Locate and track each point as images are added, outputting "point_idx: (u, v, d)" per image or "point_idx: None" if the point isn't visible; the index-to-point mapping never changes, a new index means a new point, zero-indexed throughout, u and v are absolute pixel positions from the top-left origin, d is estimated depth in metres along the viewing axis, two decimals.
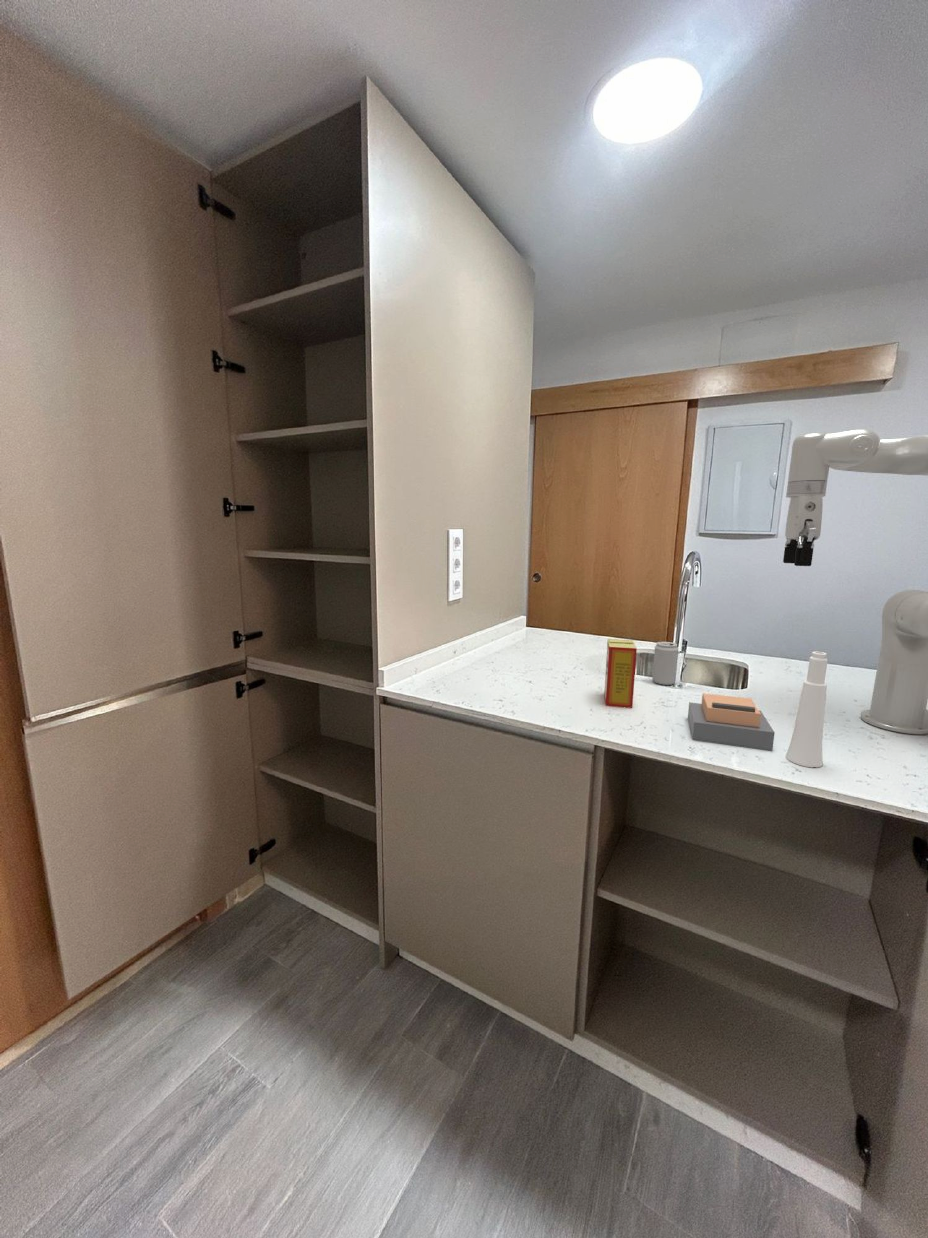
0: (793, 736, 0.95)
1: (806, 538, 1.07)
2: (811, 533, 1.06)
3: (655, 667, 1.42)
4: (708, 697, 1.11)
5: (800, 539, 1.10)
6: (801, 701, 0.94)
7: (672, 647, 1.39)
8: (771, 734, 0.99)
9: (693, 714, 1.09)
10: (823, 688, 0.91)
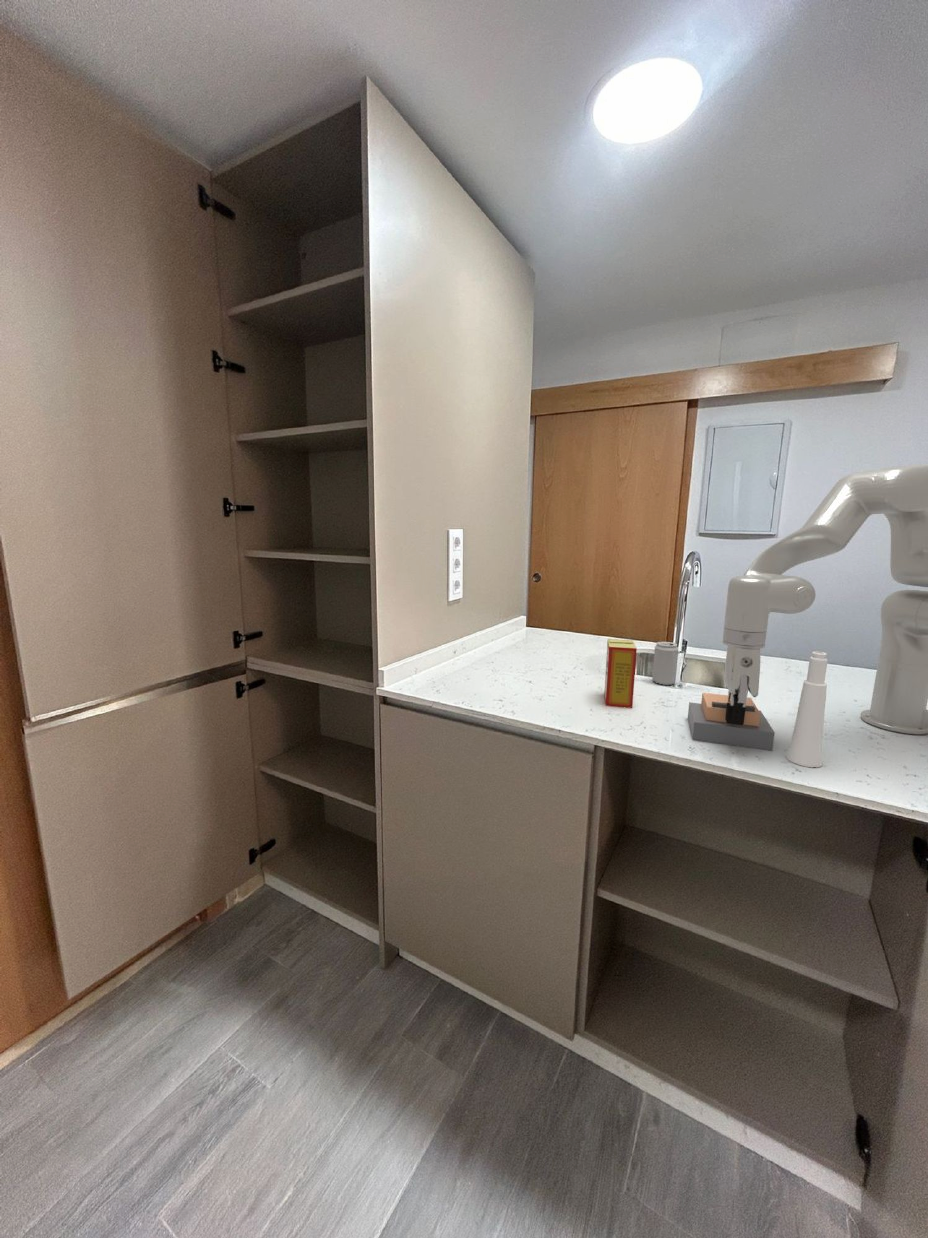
0: (793, 736, 0.95)
1: (736, 699, 0.98)
2: (741, 703, 0.96)
3: (655, 667, 1.42)
4: (707, 696, 1.11)
5: (732, 699, 0.99)
6: (801, 701, 0.94)
7: (672, 647, 1.39)
8: (771, 734, 0.99)
9: (693, 714, 1.09)
10: (823, 688, 0.91)
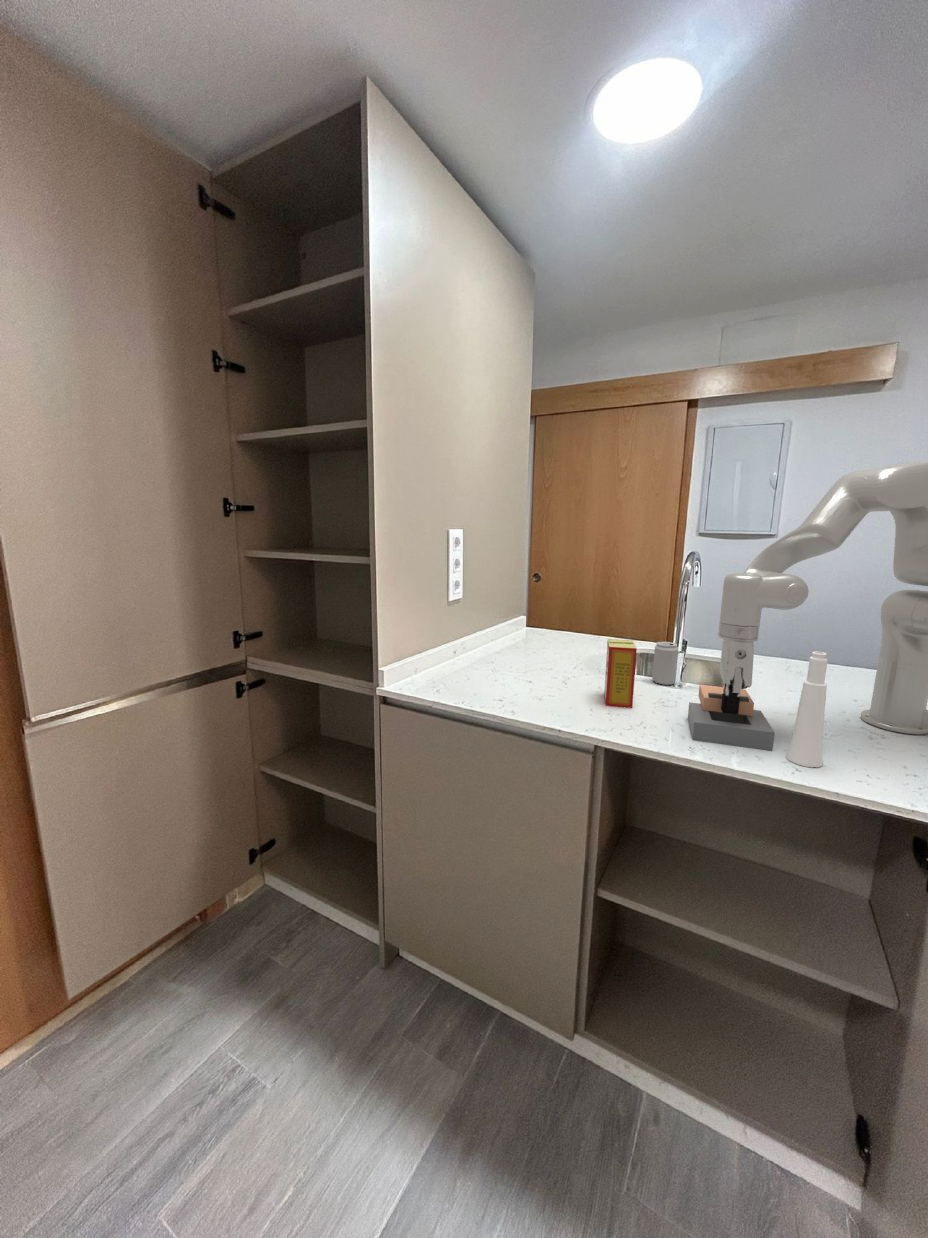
0: (793, 736, 0.95)
1: (731, 689, 1.03)
2: (735, 693, 1.02)
3: (655, 667, 1.42)
4: (704, 688, 1.17)
5: (727, 689, 1.05)
6: (801, 701, 0.94)
7: (672, 647, 1.39)
8: (771, 734, 0.99)
9: (693, 714, 1.09)
10: (823, 688, 0.91)
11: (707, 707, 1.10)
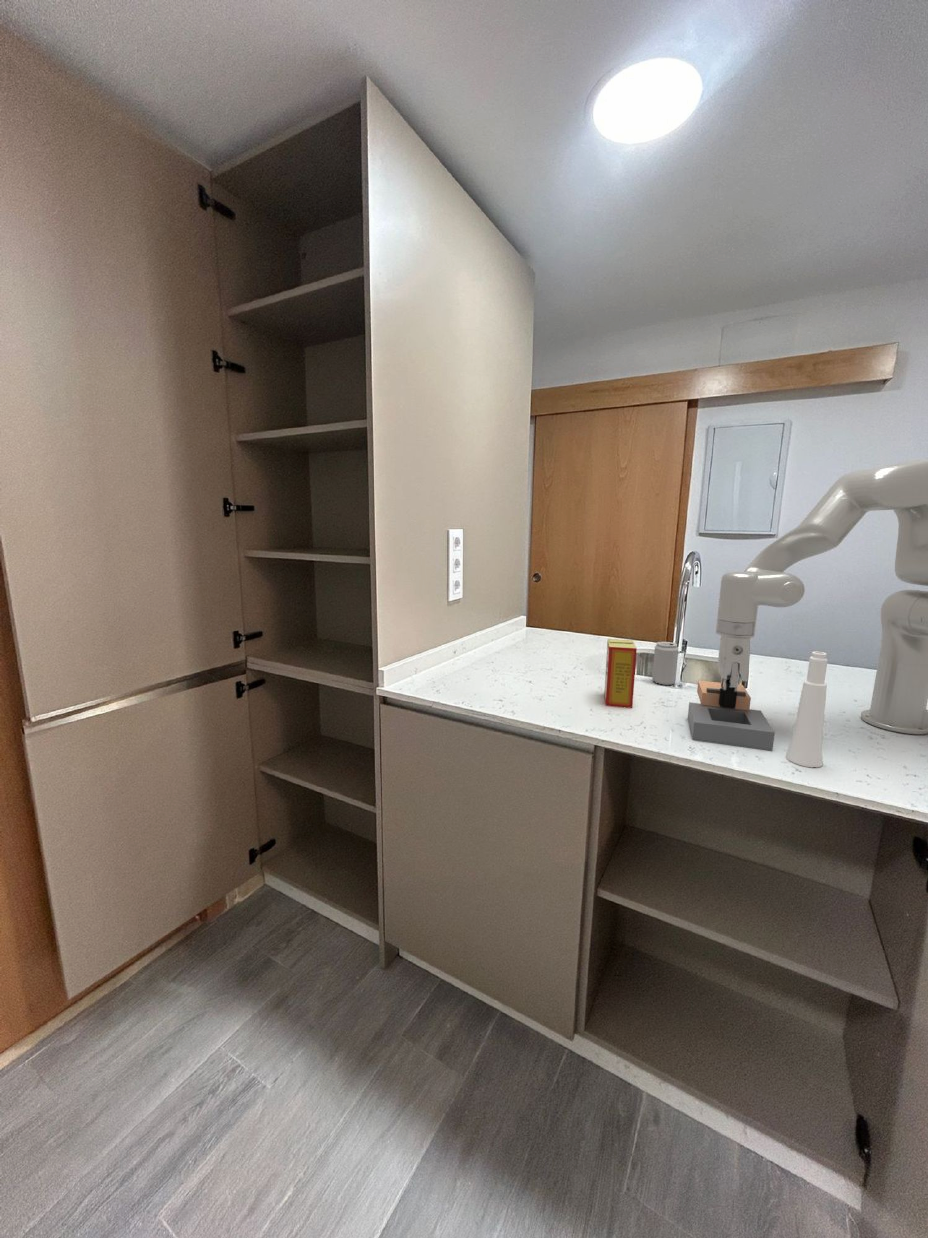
0: (793, 736, 0.95)
1: (728, 684, 1.07)
2: (732, 687, 1.05)
3: (655, 667, 1.42)
4: (703, 683, 1.20)
5: (725, 684, 1.08)
6: (801, 701, 0.94)
7: (672, 647, 1.39)
8: (771, 734, 0.99)
9: (693, 714, 1.09)
10: (823, 688, 0.91)
11: (705, 702, 1.14)
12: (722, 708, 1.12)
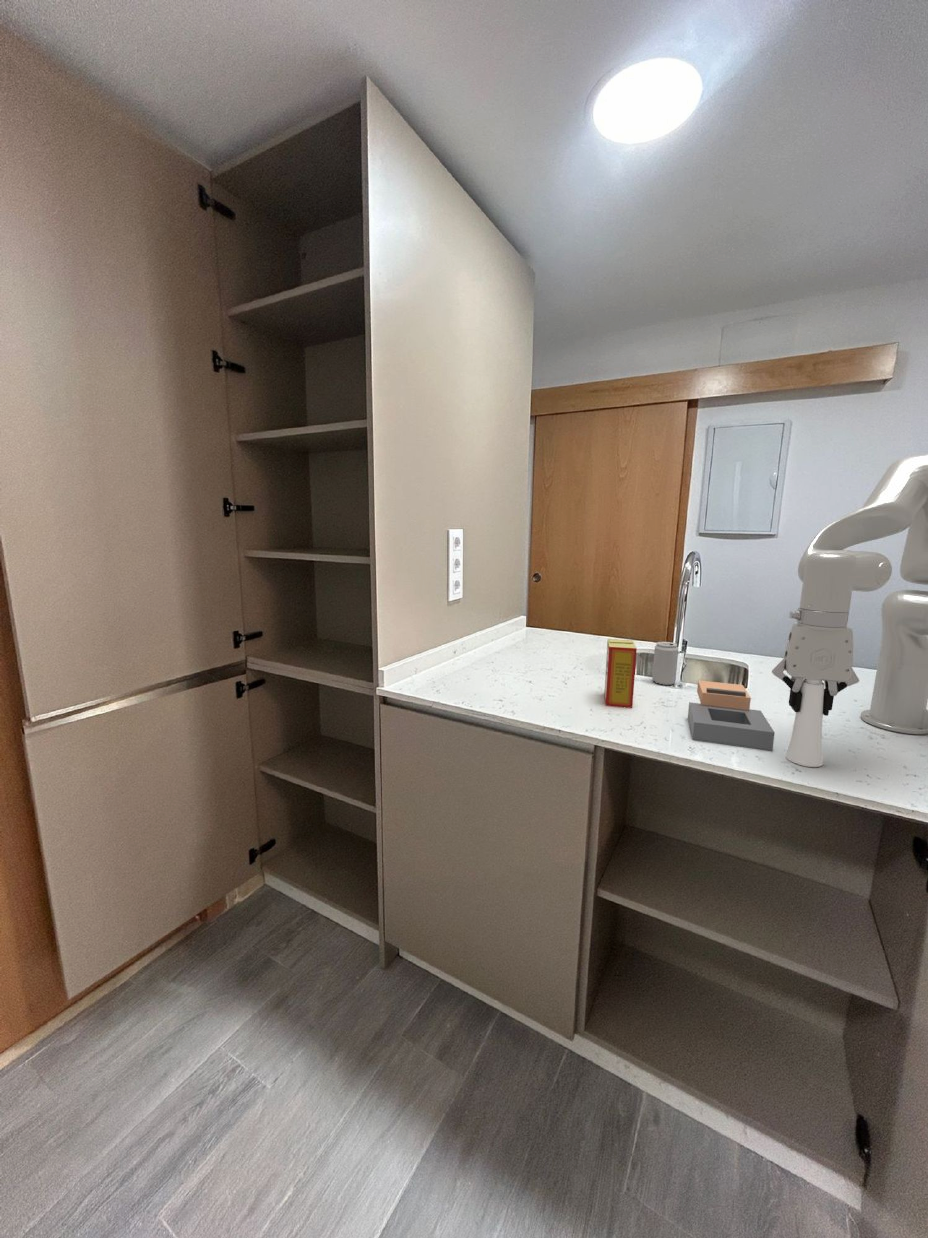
0: (792, 736, 0.95)
1: None
2: (775, 675, 0.95)
3: (655, 667, 1.42)
4: (703, 683, 1.20)
5: (791, 678, 0.95)
6: None
7: (672, 647, 1.39)
8: (771, 734, 0.99)
9: (693, 714, 1.09)
10: (821, 687, 0.91)
11: (705, 702, 1.14)
12: (722, 708, 1.12)
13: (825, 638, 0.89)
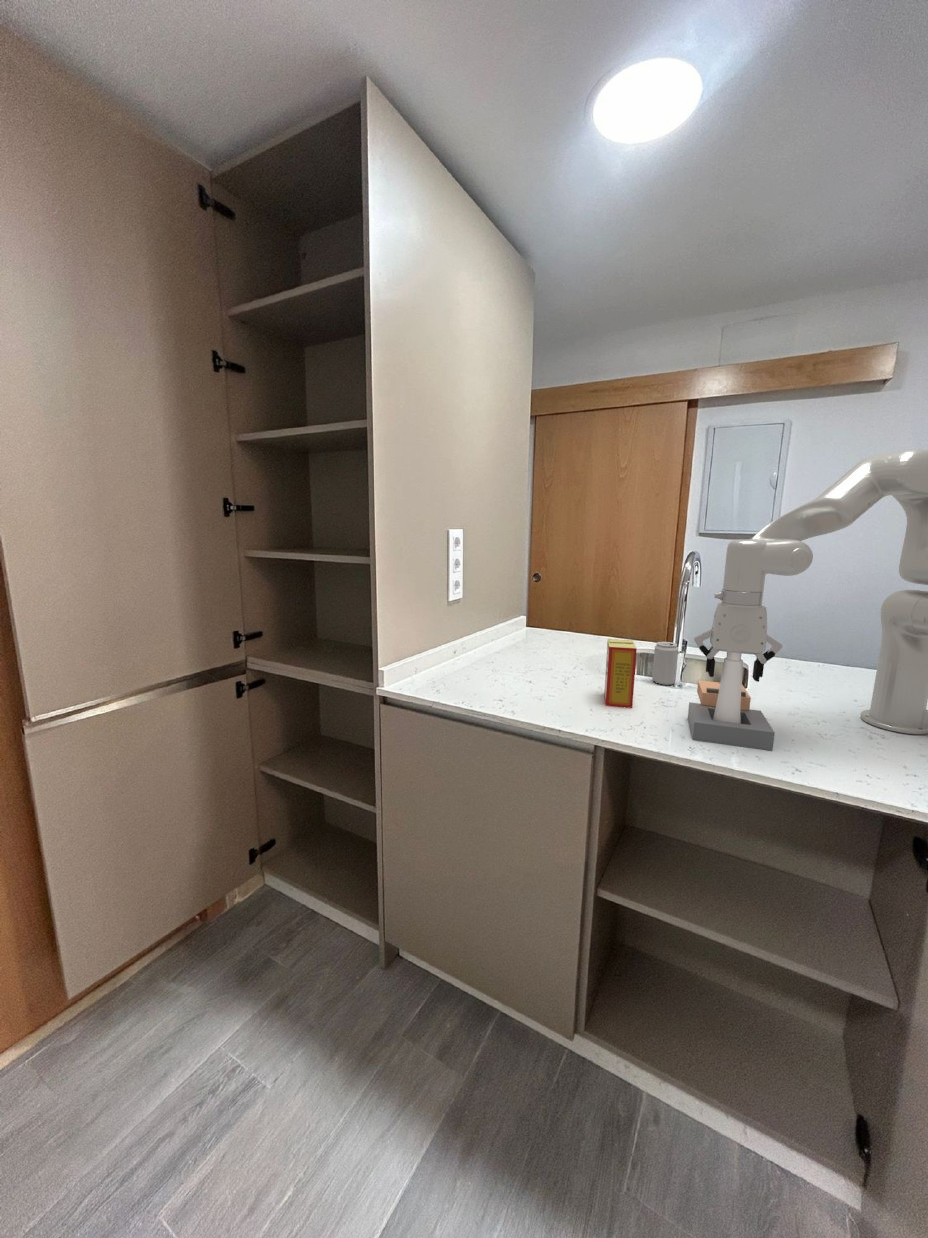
0: (716, 707, 1.08)
1: None
2: None
3: (655, 667, 1.42)
4: (703, 683, 1.20)
5: (710, 647, 1.08)
6: (722, 676, 1.06)
7: (672, 647, 1.39)
8: (771, 734, 0.99)
9: (693, 714, 1.09)
10: (739, 664, 1.04)
11: (705, 702, 1.14)
12: None
13: (742, 615, 1.01)
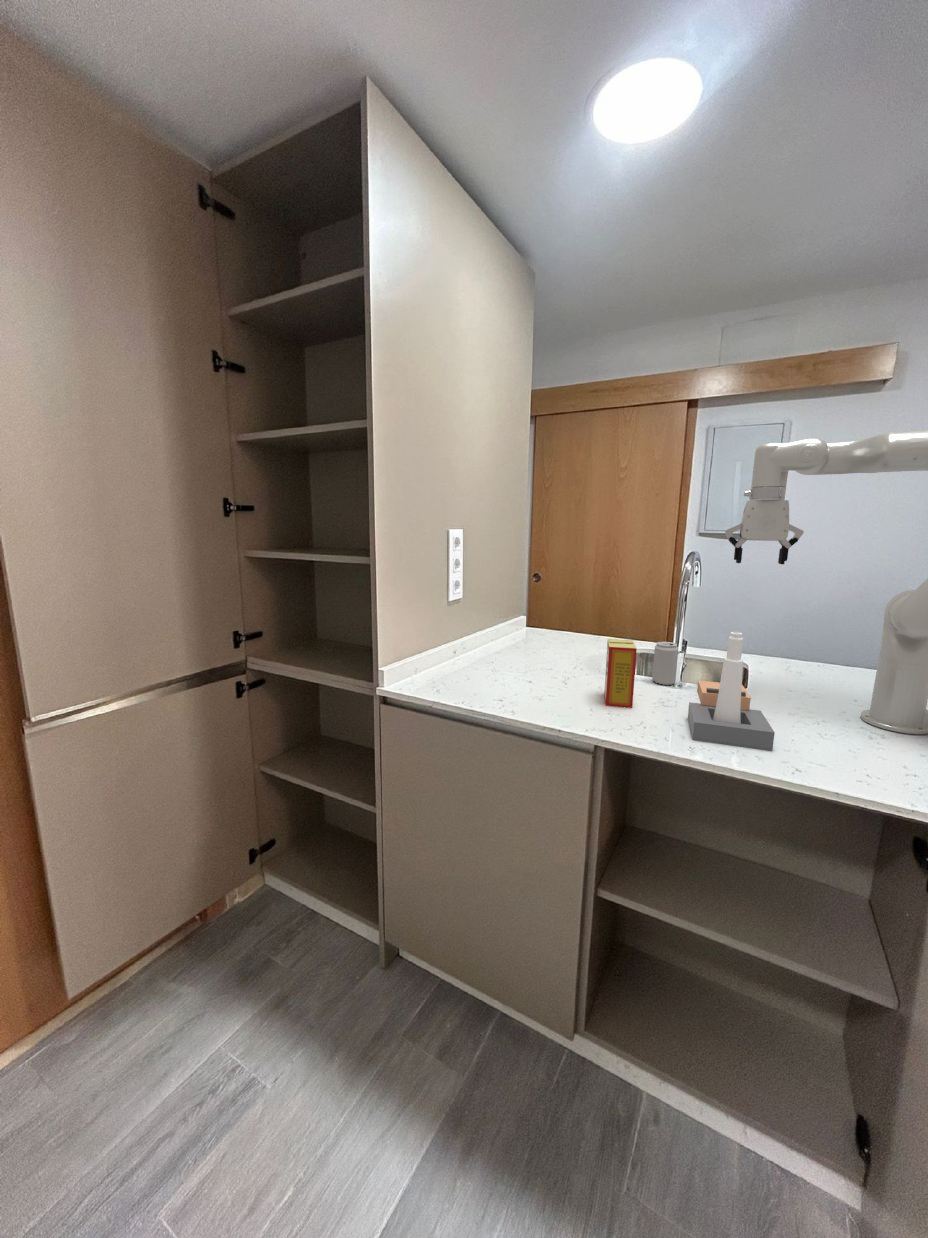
0: (716, 707, 1.08)
1: None
2: (726, 534, 1.26)
3: (655, 667, 1.42)
4: (703, 683, 1.20)
5: None
6: (722, 676, 1.06)
7: (672, 647, 1.39)
8: (771, 734, 0.99)
9: (693, 714, 1.09)
10: (739, 664, 1.04)
11: (705, 702, 1.14)
12: None
13: (768, 507, 1.20)
